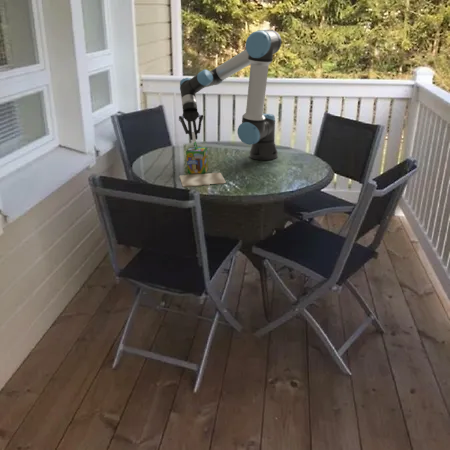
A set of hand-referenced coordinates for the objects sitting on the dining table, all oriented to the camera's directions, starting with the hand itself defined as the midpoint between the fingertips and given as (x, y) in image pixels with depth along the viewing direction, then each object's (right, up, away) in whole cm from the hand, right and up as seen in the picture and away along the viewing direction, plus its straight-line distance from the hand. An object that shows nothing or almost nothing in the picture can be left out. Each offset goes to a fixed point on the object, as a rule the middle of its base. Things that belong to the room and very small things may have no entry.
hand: (194, 144), depth 257 cm
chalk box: (+2, -14, -4) cm, 15 cm away
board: (+5, -19, -17) cm, 26 cm away
